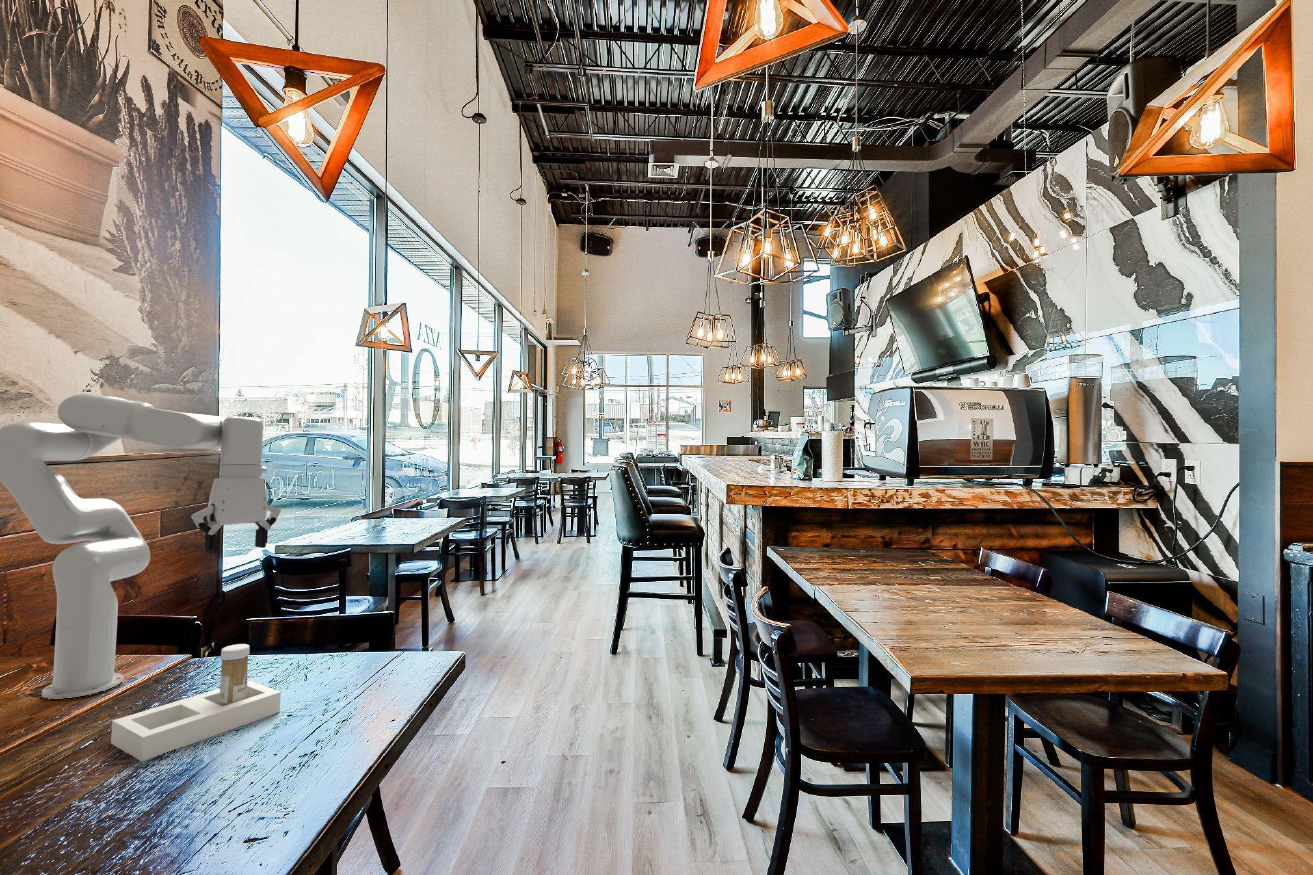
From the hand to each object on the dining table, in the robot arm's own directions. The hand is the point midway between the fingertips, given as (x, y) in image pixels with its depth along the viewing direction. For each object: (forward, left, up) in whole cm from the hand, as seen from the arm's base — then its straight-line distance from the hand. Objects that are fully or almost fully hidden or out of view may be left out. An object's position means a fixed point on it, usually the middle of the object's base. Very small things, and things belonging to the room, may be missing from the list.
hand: (236, 549), depth 128 cm
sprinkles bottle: (+15, -7, -31) cm, 35 cm away
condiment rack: (+15, -12, -30) cm, 36 cm away
